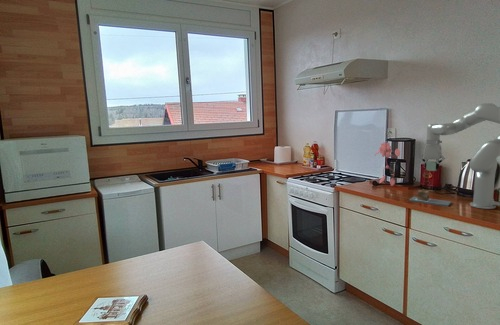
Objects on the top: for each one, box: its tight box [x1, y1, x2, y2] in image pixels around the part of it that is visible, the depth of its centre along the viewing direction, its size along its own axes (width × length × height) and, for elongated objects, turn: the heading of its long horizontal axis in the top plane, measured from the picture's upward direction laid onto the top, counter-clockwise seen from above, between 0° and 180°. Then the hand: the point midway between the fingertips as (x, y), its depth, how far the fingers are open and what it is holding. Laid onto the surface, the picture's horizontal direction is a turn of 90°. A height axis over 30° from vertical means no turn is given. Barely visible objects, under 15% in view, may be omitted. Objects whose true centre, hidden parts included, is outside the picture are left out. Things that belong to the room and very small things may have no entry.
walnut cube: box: [416, 189, 430, 201], centre depth 207 cm, size 6×6×6 cm
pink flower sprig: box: [374, 141, 401, 189], centre depth 253 cm, size 15×26×35 cm, turn 22°
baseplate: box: [408, 196, 452, 208], centre depth 205 cm, size 22×10×1 cm, turn 48°
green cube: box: [425, 160, 437, 172], centre depth 215 cm, size 6×6×6 cm
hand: (431, 168), depth 215 cm, fingers closed on green cube, 5 cm apart
